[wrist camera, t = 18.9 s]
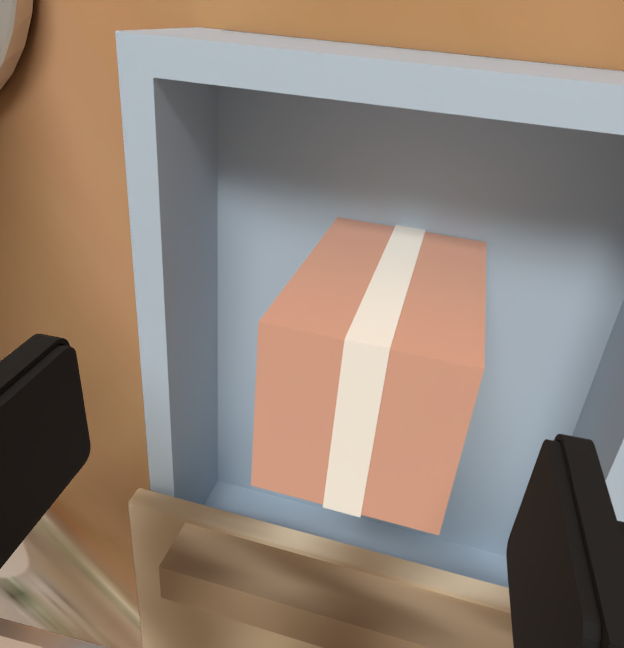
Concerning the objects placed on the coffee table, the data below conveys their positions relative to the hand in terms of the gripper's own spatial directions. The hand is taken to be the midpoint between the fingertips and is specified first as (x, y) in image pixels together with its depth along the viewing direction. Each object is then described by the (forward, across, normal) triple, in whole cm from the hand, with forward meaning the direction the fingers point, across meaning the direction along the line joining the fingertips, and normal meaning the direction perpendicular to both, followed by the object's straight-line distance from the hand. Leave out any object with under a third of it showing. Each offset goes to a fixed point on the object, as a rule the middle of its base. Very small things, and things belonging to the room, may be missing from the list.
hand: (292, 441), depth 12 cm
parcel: (+10, -1, +2) cm, 10 cm away
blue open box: (+11, -2, +4) cm, 12 cm away
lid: (+5, -1, +19) cm, 20 cm away
